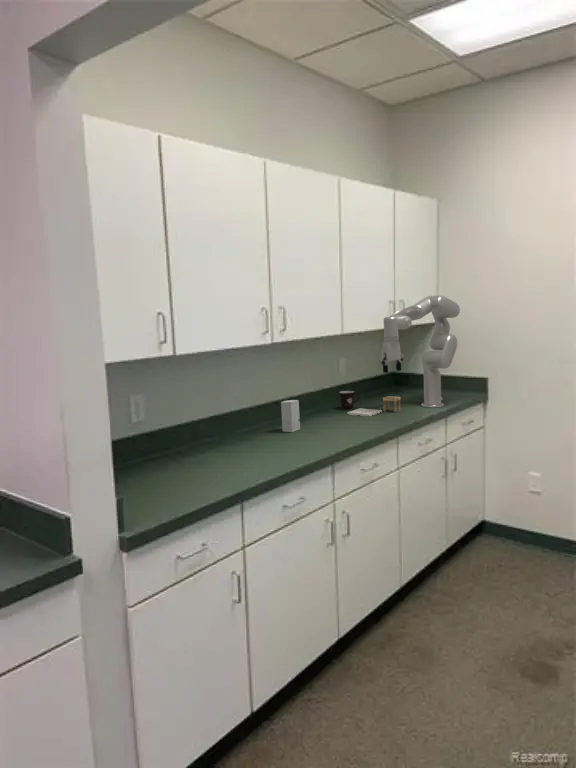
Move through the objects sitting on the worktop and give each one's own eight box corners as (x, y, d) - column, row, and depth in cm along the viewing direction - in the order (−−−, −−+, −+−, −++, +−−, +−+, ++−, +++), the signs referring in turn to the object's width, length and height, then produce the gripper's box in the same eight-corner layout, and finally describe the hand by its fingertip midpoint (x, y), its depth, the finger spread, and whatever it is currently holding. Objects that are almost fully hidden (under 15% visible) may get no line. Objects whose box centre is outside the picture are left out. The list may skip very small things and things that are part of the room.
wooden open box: (387, 410, 331) (387, 396, 330) (400, 411, 326) (400, 397, 325) (383, 411, 327) (382, 397, 326) (396, 412, 322) (395, 398, 321)
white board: (360, 410, 335) (360, 408, 334) (382, 412, 326) (382, 410, 326) (347, 414, 324) (347, 412, 324) (369, 416, 315) (369, 414, 315)
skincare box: (292, 432, 284) (291, 402, 282) (281, 431, 287) (280, 401, 285) (300, 429, 291) (299, 399, 289) (290, 428, 294) (288, 399, 292)
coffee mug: (339, 410, 338) (339, 393, 336) (340, 407, 346) (339, 391, 345) (360, 410, 336) (359, 392, 335) (360, 407, 345) (359, 390, 343)
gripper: (397, 338, 322) (398, 369, 324) (374, 340, 312) (375, 372, 314) (407, 338, 315) (408, 370, 318) (384, 341, 306) (385, 373, 308)
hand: (392, 371), depth 316 cm, fingers open, 9 cm apart
